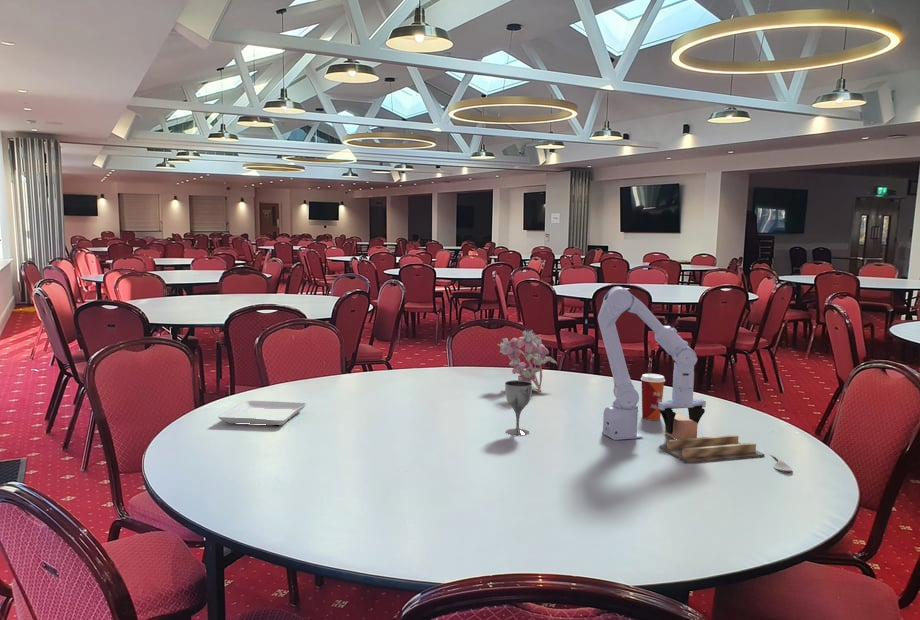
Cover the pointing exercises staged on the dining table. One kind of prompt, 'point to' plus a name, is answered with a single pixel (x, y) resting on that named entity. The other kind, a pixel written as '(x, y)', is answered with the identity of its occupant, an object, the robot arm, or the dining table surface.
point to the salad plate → (246, 405)
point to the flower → (526, 356)
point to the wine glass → (518, 401)
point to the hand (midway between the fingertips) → (680, 432)
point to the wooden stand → (710, 449)
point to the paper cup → (652, 395)
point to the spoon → (780, 464)
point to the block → (683, 428)
